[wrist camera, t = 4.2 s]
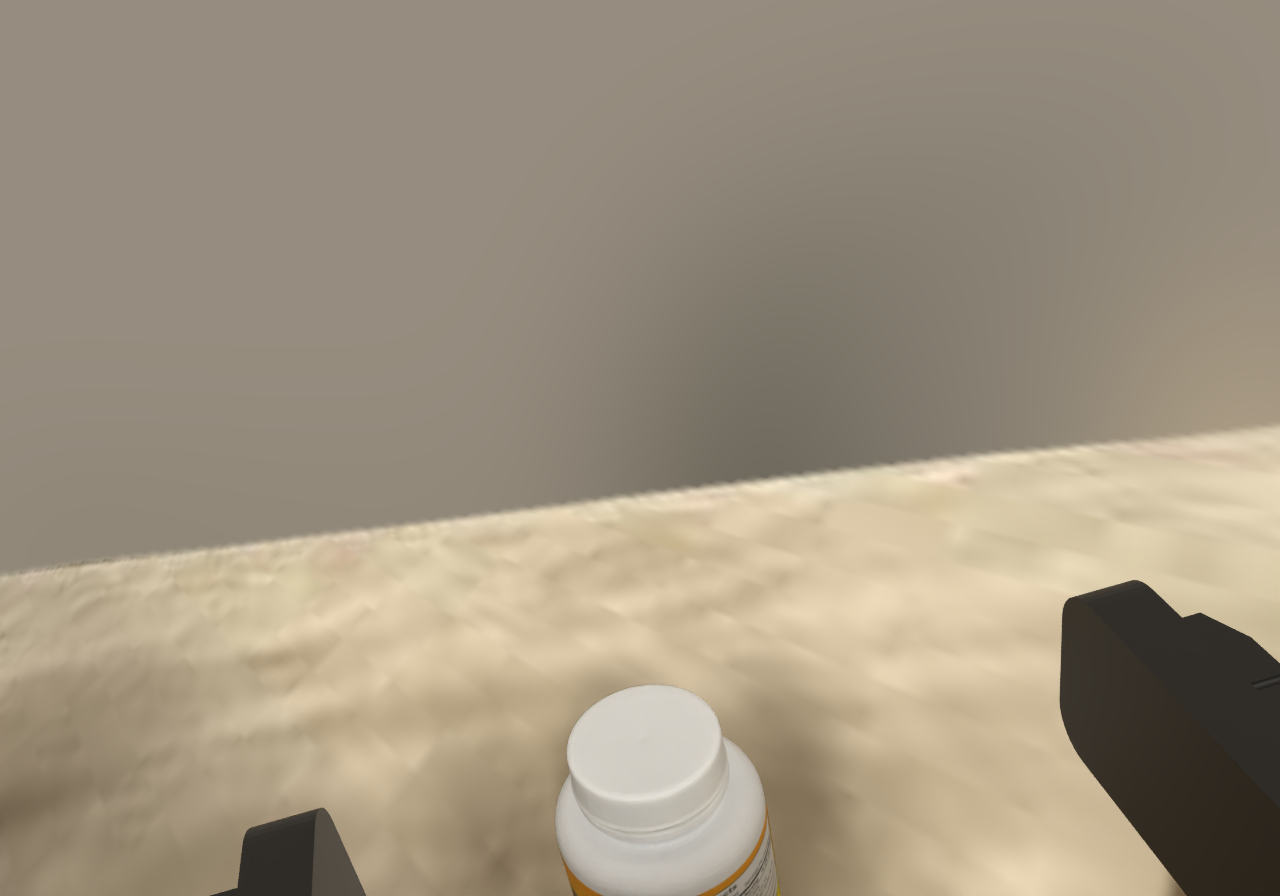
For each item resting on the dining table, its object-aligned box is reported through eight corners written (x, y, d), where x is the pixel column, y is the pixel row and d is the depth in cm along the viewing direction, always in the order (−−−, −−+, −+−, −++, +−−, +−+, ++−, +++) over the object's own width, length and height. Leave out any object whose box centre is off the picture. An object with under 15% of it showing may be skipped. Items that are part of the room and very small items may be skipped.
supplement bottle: (599, 921, 36) (530, 683, 30) (771, 886, 36) (731, 642, 30) (615, 1095, 31) (536, 847, 26) (813, 1055, 31) (775, 799, 26)
